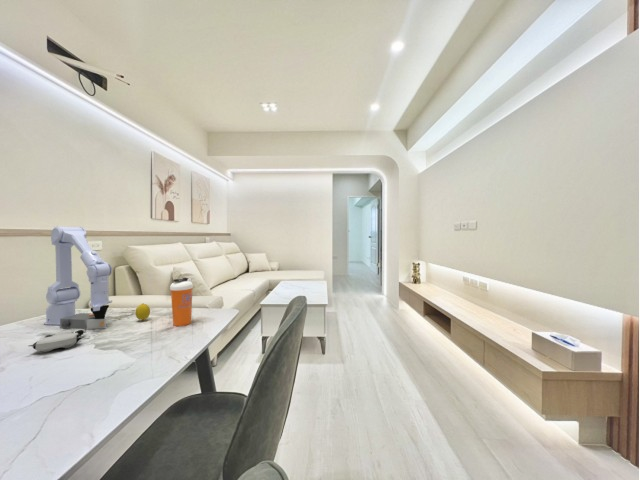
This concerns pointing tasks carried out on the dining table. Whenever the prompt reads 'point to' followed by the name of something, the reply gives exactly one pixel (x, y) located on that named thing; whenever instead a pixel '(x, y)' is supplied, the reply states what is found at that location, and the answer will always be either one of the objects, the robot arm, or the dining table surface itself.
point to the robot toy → (58, 340)
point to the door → (95, 323)
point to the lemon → (142, 311)
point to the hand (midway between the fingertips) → (100, 323)
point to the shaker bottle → (181, 301)
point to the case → (76, 321)
